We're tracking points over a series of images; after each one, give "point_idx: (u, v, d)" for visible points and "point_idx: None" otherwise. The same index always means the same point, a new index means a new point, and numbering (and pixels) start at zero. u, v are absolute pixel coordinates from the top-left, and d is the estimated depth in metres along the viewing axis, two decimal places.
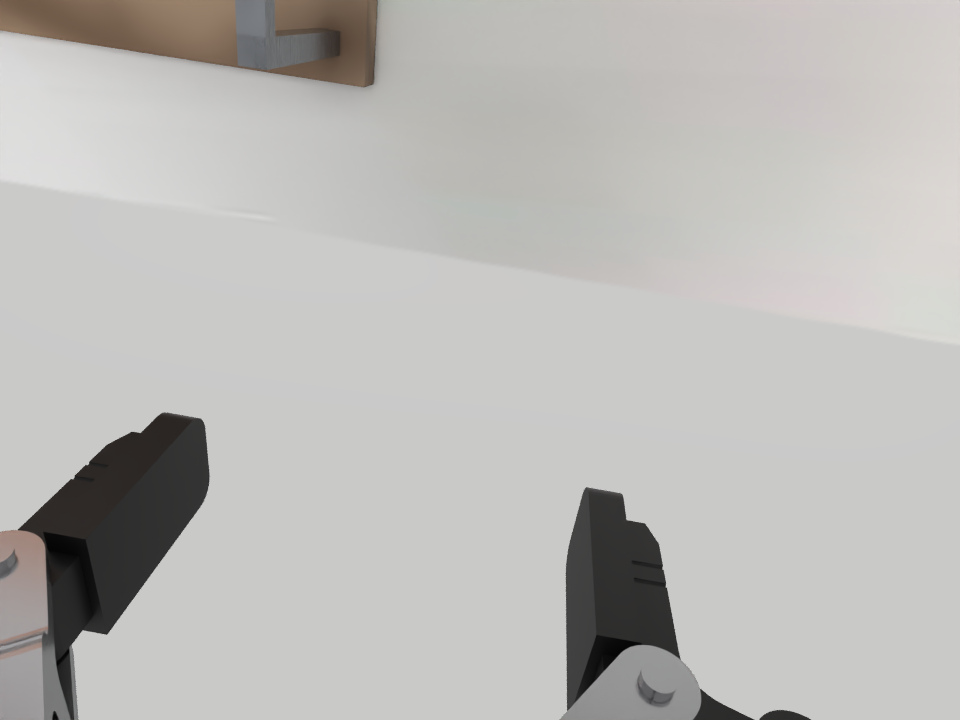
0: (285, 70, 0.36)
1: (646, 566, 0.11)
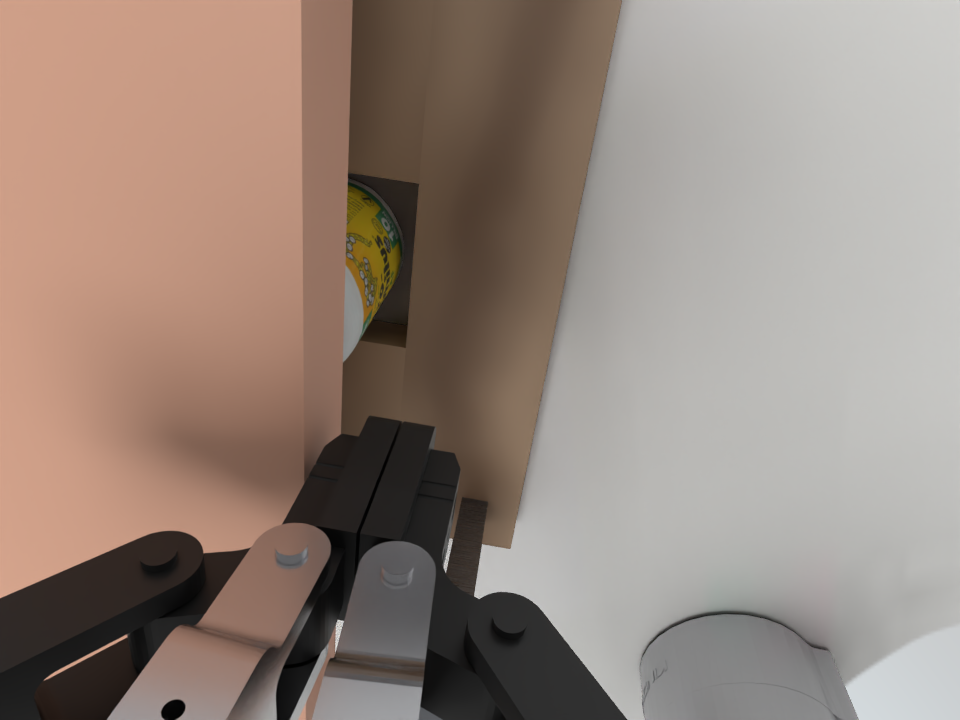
0: None
1: (441, 486, 0.13)
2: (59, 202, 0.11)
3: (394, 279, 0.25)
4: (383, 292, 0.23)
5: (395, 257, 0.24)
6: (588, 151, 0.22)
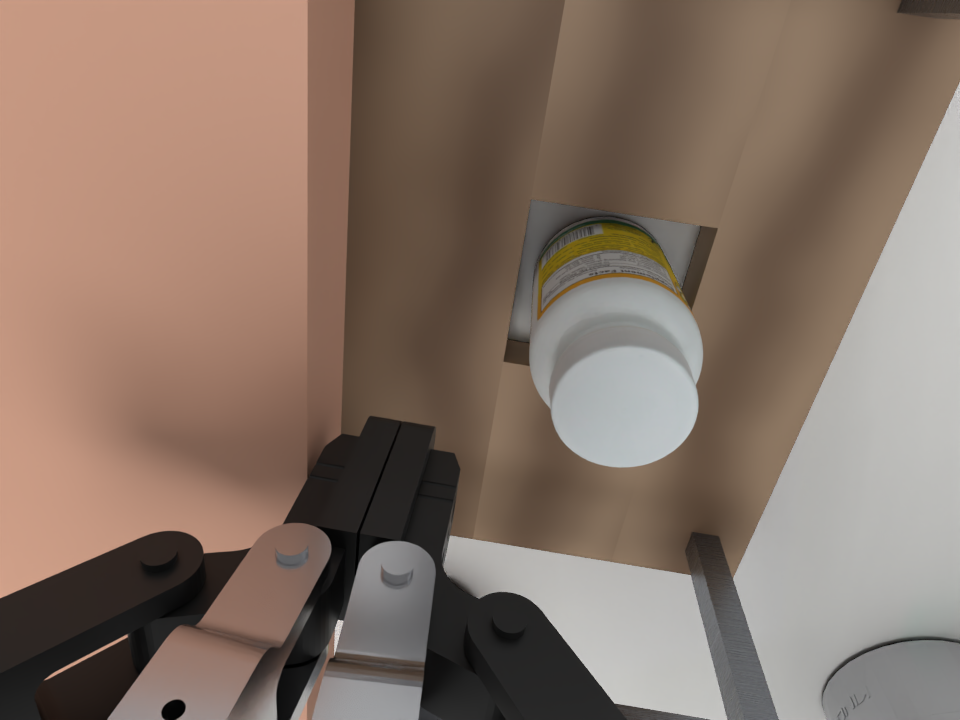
0: None
1: (441, 486, 0.13)
2: (60, 203, 0.11)
3: None
4: None
5: None
6: (903, 198, 0.22)
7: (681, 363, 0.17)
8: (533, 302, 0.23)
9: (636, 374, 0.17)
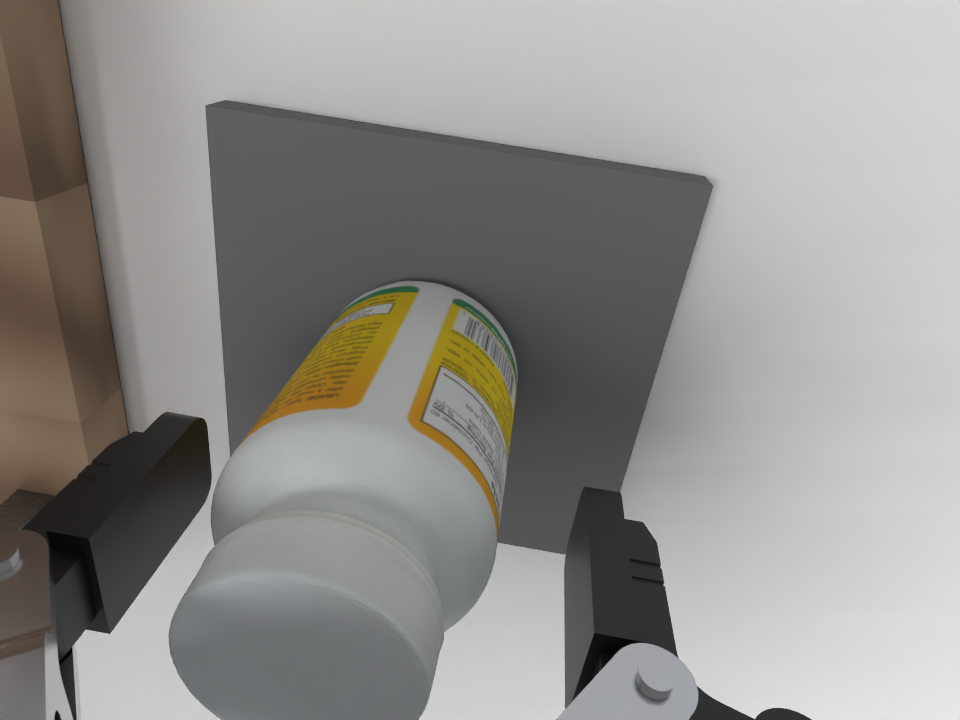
0: None
1: (644, 565, 0.11)
2: None
3: None
4: None
5: None
6: None
7: None
8: (407, 341, 0.13)
9: (376, 691, 0.10)
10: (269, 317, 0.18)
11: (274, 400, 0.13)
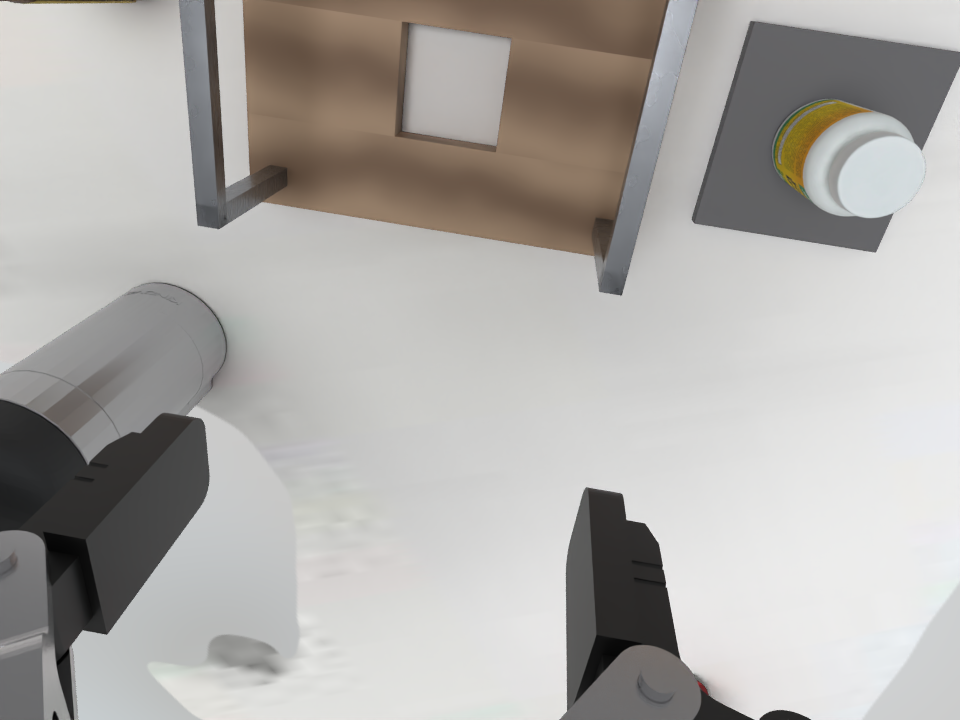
0: None
1: (646, 566, 0.11)
2: None
3: None
4: None
5: None
6: (512, 241, 0.44)
7: None
8: (859, 106, 0.35)
9: (905, 183, 0.31)
10: (748, 121, 0.40)
11: (818, 124, 0.35)
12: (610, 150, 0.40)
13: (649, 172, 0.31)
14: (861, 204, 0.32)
